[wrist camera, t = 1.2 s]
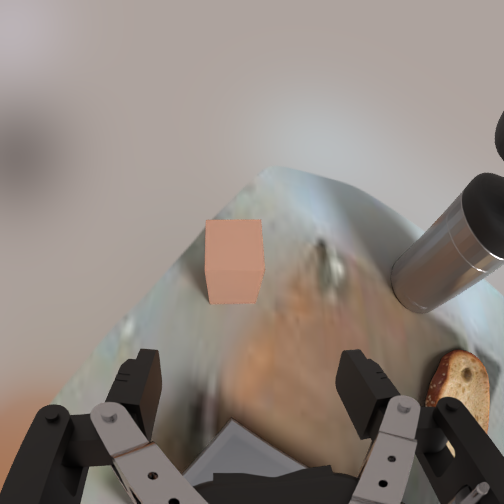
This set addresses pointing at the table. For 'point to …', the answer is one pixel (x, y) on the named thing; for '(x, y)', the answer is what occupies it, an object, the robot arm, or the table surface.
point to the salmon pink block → (234, 260)
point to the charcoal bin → (239, 456)
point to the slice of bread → (462, 385)
